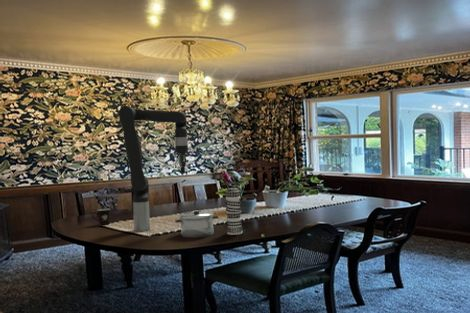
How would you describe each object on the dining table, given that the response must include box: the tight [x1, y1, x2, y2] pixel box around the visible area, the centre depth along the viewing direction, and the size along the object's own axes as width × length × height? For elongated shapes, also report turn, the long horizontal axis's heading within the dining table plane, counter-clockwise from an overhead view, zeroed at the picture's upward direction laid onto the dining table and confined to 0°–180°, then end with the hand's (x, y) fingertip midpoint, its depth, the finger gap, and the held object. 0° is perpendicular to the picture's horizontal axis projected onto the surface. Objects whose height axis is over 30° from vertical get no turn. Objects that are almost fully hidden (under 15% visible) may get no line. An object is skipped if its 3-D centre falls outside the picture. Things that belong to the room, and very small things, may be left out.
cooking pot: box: [174, 215, 219, 239], centre depth 245 cm, size 24×18×10 cm
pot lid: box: [179, 209, 215, 219], centre depth 245 cm, size 19×20×3 cm
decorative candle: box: [224, 187, 243, 236], centre depth 242 cm, size 9×9×25 cm
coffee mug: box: [91, 208, 112, 226], centre depth 290 cm, size 12×9×10 cm
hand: (182, 173), depth 264 cm, fingers closed
